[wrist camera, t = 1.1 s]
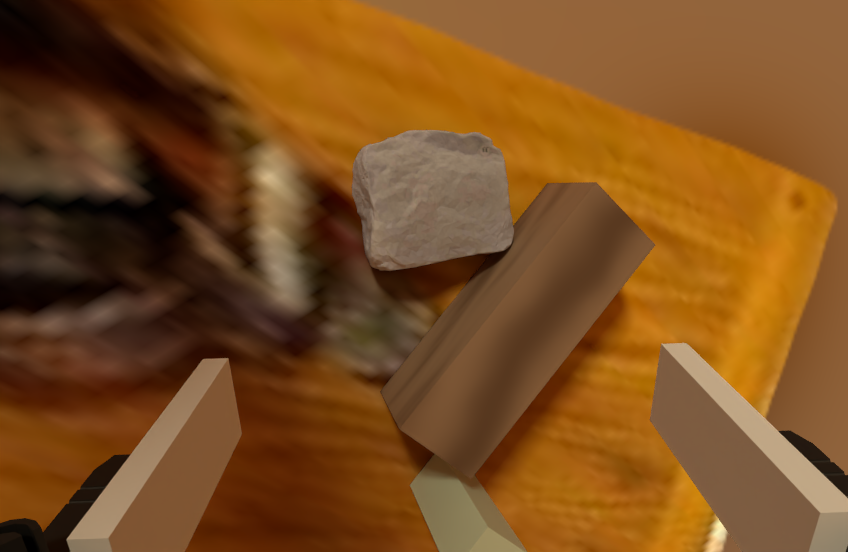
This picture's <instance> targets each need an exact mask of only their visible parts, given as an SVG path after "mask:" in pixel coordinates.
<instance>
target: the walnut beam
mask: <svg viewBox="0 0 848 552" xmlns="http://www.w3.org/2000/svg"><path fill="white" fill-rule="evenodd" d="M513 228H514V236H513V240H512V243H511V245H510V247H508V248H507V249H506V250H504V251H501V252H495V253H491V254H490V256H489V257H488V258H487V259H486V261H485V262H484V263H483V264H482V266H481V267H480V268H479V269H478V271H477V272H476V273H475V274H474V276H473V277H472V278H471V279H470V281H469V282H468V283H467V284H466V285H465V287H464V288H463V289H462V290H461V292H460V293H459V294H458V295H457V297H456V298H455V299H454V300H453V302H452V303H451V304H450V305H449V307H448V308H447V309H446V310H445V312H444V313H443V314H442V315H441V317H440V318H439V319H438V320H437V322H436V323H435V324H434V325H433V327H432V328H431V329H430V330H429V332H428V333H427V334H426V335H425V336H424V338H423V339H422V340H421V341H420V343H419V344H418V345H417V346H416V348H415V349H414V350H413V351H412V353H411V354H410V355H409V356H408V358H407V359H406V360H405V361H404V363H403V364H402V365H401V366H400V368H399V369H398V370H397V371H396V373H395V374H394V375H393V376H392V378H391V379H390V380H389V381H388V383H387V384H386V385H385V386H384V387H383V389H382V390H381V391H380V392H381V394H382V396H383V398H384V400H385V402H386V404H387V406H388V408H389V410H390V412H391V414H392V416H393V418H394V420H395V422H396V424H397V426H398V428H399V429H400V430H401V431H403V432H404V433H406V434H407V435H408V436H410V437H411V438H413V439H414V440H416V441H417V442H419V443H420V444H421V445H423V446H424V447H426V448H427V449H429V450H430V451H431V452H433V453H434V454H436V455H437V456H439V457H440V458H441V459H443V460H444V461H446V462H447V463H449V464H450V465H451V466H453V467H454V468H456V469H457V470H459V471H460V472H462V473H463V474H464V475H466V476H467V477H469V478H470V479H472V477H473V476H474V475H475V474H476V472H477V471H478V470H479V469H480V467H481V466H482V465H483V463H484V462H485V461H486V460H487V458H488V457H489V456H490V455H491V453H492V452H493V451H494V450H495V448H496V447H497V446H498V444H499V443H500V442H501V441H502V439H503V438H504V437H505V436H506V434H507V433H508V432H509V430H510V429H511V428H512V427H513V425H514V424H515V423H516V422H517V420H518V419H519V418H520V416H521V415H522V414H523V413H524V411H525V410H526V409H527V408H528V406H529V405H530V404H531V402H532V401H533V400H534V399H535V397H536V396H537V395H538V394H539V392H540V391H541V390H542V388H543V387H544V386H545V385H546V383H547V382H548V381H549V380H550V378H551V377H552V376H553V374H554V373H555V372H556V371H557V369H558V368H559V367H560V366H561V364H562V363H563V362H564V360H565V359H566V358H567V357H568V355H569V354H570V353H571V352H572V350H573V349H574V348H575V347H576V345H577V344H578V343H579V341H580V340H581V339H582V338H583V336H584V335H585V334H586V333H587V331H588V330H589V329H590V327H591V326H592V325H593V324H594V322H595V321H596V320H597V319H598V317H599V316H600V315H601V313H602V312H603V311H604V310H605V308H606V307H607V306H608V305H609V303H610V302H611V301H612V299H613V298H614V297H615V296H616V294H617V293H618V292H619V291H620V289H621V288H622V287H623V285H624V284H625V283H626V282H627V280H628V279H629V278H630V277H631V275H632V274H633V273H634V271H635V270H636V269H637V268H638V266H639V265H640V264H641V263H642V261H643V260H644V259H645V257H646V256H647V255H648V254H649V252H650V251H651V250H652V249H653V247H654V246H655V244H654V243H653V242H652V241H651V240H650V239H649V238H648V237H647V235H646V234H645V233H644V232H643V231H642V230H641V229H640V228H639V227H638V226H637V225H636V224H635V223H634V222H633V221H632V220H631V219H630V218H629V217H628V215H627V214H626V213H625V212H624V211H623V210H622V209H621V208H620V207H619V206H618V205H617V204H616V203H615V202H614V201H613V200H612V199H611V198H610V197H609V195H608V194H607V193H606V192H605V191H604V190H603V189H602V188H601V187H600V186H599V185H598V184H597V183H547V185H546V186H545V187H544V188H543V190H542V191H541V192H540V193H539V195H538V196H537V197H536V198H535V200H534V201H533V202H532V203H531V205H530V206H529V207H528V208H527V210H526V211H525V212H524V213H523V215H522V216H521V217H520V218H519V220H518V221H517V222H516V223H515V225H514V226H513Z"/></svg>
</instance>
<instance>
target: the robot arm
mask: <svg viewBox="0 0 848 552" xmlns="http://www.w3.org/2000/svg"><path fill="white" fill-rule="evenodd" d="M650 421H651V422H652V424H653V425H654V427H655V428H656V429H657V431H658V432H659V434H660V435H661V437H662V438H663V439H664V441H665V442H666V444H667V445H668V447H669V448H670V450H671V451H672V452H673V454H674V455H675V457H676V458H677V460H678V461H679V462H680V464H681V465H682V467H683V468H684V470H685V471H686V472H687V474H688V475H689V477H690V478H691V480H692V481H693V483H694V484H695V485H696V487H697V488H698V490H699V491H700V493H701V494H702V495H703V497H704V498H705V500H706V501H707V503H708V504H709V505H710V507H711V508H712V510H713V511H714V513H715V514H716V516H717V517H718V518H719V520H720V521H721V523H722V524H723V526H724V527H725V528H726V530H727V531H728V533H729V534H730V536H731V537H732V538H733V540H734V541H735V543H736V544H737V546H738V547H739V548H740V550H741V551H742V552H848V475H845V474H844V471H843V470H841V469H840V468H839V467H838V466H837V465H836V464H835V463H833V462H830V459H829V458H828V457H827V456H826V455H825V454H824V453H823V452H822V451H821V450H819V449H818V448H817V447H816V446H815V445H814V444H813V443H811V442H809V441H807V440H806V439H804V438H802V437H800V436H799V435H797V434H795V433H793V432H791V431H777V430H776V429H775V428H774V427H773V426H772V425H771V424H770V423H769V422H768V421H767V420H766V419H765V418H764V417H763V416H762V415H761V414H760V413H759V412H758V411H756V410H755V409H754V408H753V407H752V406H751V405H750V404H749V403H748V402H747V401H746V400H745V399H744V398H743V397H742V396H741V395H740V394H739V393H738V392H737V391H736V390H735V389H734V388H733V387H731V386H730V385H729V384H728V383H727V382H726V381H725V380H724V379H723V378H722V377H721V376H720V375H719V374H718V373H717V372H716V371H715V370H714V369H713V368H712V367H711V366H710V365H709V364H708V363H707V362H705V361H704V360H703V359H702V358H701V357H700V356H699V355H698V354H697V353H696V352H695V351H694V350H693V349H692V348H691V347H690V346H689V345H688V344H687V343H675V344H661V349H660V356H659V363H658V370H657V376H656V383H655V390H654V397H653V403H652V410H651V417H650ZM241 435H242V431H241V425H240V420H239V414H238V409H237V403H236V397H235V392H234V386H233V381H232V375H231V369H230V364H229V358H217V359H203V360H202V361H201V362H200V364H199V365H198V366H197V368H196V369H195V370H194V372H193V373H192V374H191V376H190V377H189V378H188V380H187V381H186V382H185V383H184V385H183V386H182V387H181V389H180V390H179V391H178V393H177V394H176V395H175V397H174V398H173V399H172V401H171V402H170V403H169V405H168V406H167V407H166V409H165V410H164V411H163V413H162V414H161V415H160V417H159V418H158V419H157V420H156V422H155V423H154V424H153V426H152V427H151V428H150V430H149V431H148V432H147V434H146V435H145V436H144V438H143V439H142V440H141V442H140V443H139V444H138V446H137V447H136V448H135V450H134V451H133V452H132V454H131V455H114V456H113V457H111V458H110V459H109V460H107V461H106V462H105V463H103V464H102V465H100V466H99V467H98V468H96V469H95V470H94V471H93V472H92V474H91V475H90V476H89V477H88V478H87V480H86V481H85V482H84V483H83V484H82V486H81V489H80V490H78V491H77V492H76V493H75V494H74V495H73V497H72V498H71V499H70V500H69V504H66V505H65V506H64V508H63V509H62V510H61V511H60V513H59V514H58V515H57V516H56V517H55V519H54V520H53V521H52V522H51V523H50V525H49V526H48V527H47V528H46V530H45V531H44V532H42V529H41V527H40V526H39V524H38V523H37V522H36V521H35V520H30V519H26V518H23V519H14V520H9V521H6V522H3V523H0V552H185V550H186V548H187V546H188V544H189V542H190V540H191V538H192V536H193V534H194V532H195V530H196V528H197V526H198V524H199V522H200V520H201V517H202V515H203V513H204V511H205V509H206V507H207V505H208V503H209V501H210V499H211V497H212V495H213V493H214V491H215V489H216V487H217V485H218V482H219V480H220V478H221V476H222V474H223V472H224V470H225V468H226V466H227V464H228V462H229V460H230V458H231V456H232V454H233V452H234V450H235V447H236V445H237V443H238V441H239V439H240V437H241Z"/></svg>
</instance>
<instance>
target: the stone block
mask: <svg viewBox="0 0 848 552" xmlns="http://www.w3.org/2000/svg"><path fill="white" fill-rule="evenodd" d="M352 195H353V197H354V200H355V203H356V206H357V213H358V214H359V216H360V218H361V220H362V226H363V231H362V232H363V239H364V248H365V254H366V256H367V258H368V260H369V263H370V265H371V267H373V268H375V269H379V270H380V271H383V270H386V271H392V270H398V269H406V268H413V267H418V266H423V265H428V264H434V263H438V262H443V261H446V260H450V259H454V258H459V257H465V256H472V255H477V254H487V253H495V252H501V251H504V250H506V249H507V248H508V247H510V245H511V243H512V240H513V236H514V228H513V225H512V216H511V213H510V205H509V194H508V181H507V176H506V169H505V161H504V158H503V155H502V152H501V150H500V149H499V148H496V147H494V146H493V144H492V140H491V139H490V138H488V137H486V136H484V135H482V134H481V133H476V132H473V133H468V134H458V133H454V132H448V131H438V130H425V131H422V130H414V131H407V132H404V133H402V134H400V135H397V136H395V137H390V138H387V139H386V140H384V141H382V142H379V143H375V144H369V145H367V146H365V147H363V148H362V149H361V150H360V152H359V153H358V155H357V157H356V159H355V162H354V163H353V184H352Z"/></svg>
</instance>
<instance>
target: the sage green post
mask: <svg viewBox="0 0 848 552" xmlns="http://www.w3.org/2000/svg"><path fill="white" fill-rule="evenodd" d="M410 487H411V489H412V491H413V493H414V496H415V498H416V500H417V503H418V505H419V507H420V509H421V512H422V514H423V516H424V518H425V521H426V523H427V525H428V527H429V530H430V532H431V534H432V536H433V539H434V541H435V543H436V546H437V548H438V550H439V552H527V551H526V549H525V548H524V546H523V545H522V543H521V542H520V540H519V539H518V538H517V536H516V535H515V533H514V532H513V530H512V529H511V527H510V526H509V524H508V523H507V521H506V520H505V519H504V517H503V516H502V514H501V513H500V511H499V510H498V508H497V507H496V505H495V504H494V502H493V501H492V500H491V498H490V497H489V495H488V494H487V492H486V491H485V489H484V488H483V486H482V485H481V483H480V482H479V481H478V479H477V478H476V476H475V475H474V476H473V477H472V479H470V478H469V477H467V476H466V475H464V474H463V473H462V472H460V471H459V470H457V469H456V468H454V467H453V466H451V465H450V464H449V463H447V462H446V461H444V460H443V459H441V458H440V457H439V456H437V455H436V454H434V455H433V456H432V458H431V459H430V460H429V461H428V463H427V464H426V465H425V466H424V468H423V469H422V470H421V472H420V473H419V474H418V475H417V477H416V478H415V479H414V480H413V482H412V483H411V484H410Z"/></svg>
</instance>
